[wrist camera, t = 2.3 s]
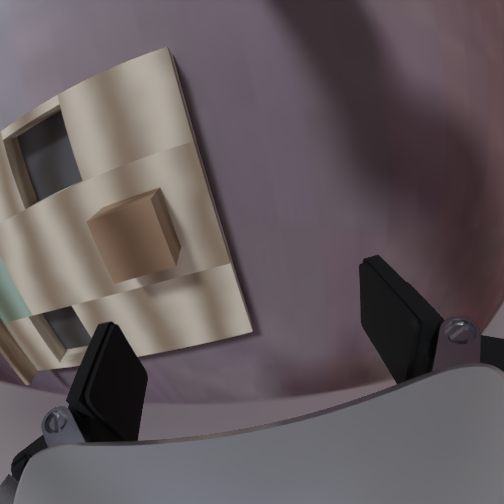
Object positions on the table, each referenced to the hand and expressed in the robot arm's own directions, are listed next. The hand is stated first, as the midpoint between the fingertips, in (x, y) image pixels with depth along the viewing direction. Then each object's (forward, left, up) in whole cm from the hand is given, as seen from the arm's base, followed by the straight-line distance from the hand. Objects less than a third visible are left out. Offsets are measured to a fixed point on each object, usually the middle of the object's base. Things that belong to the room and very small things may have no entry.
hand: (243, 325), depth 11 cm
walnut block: (+8, 0, -18) cm, 20 cm away
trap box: (+18, 0, -21) cm, 28 cm away
